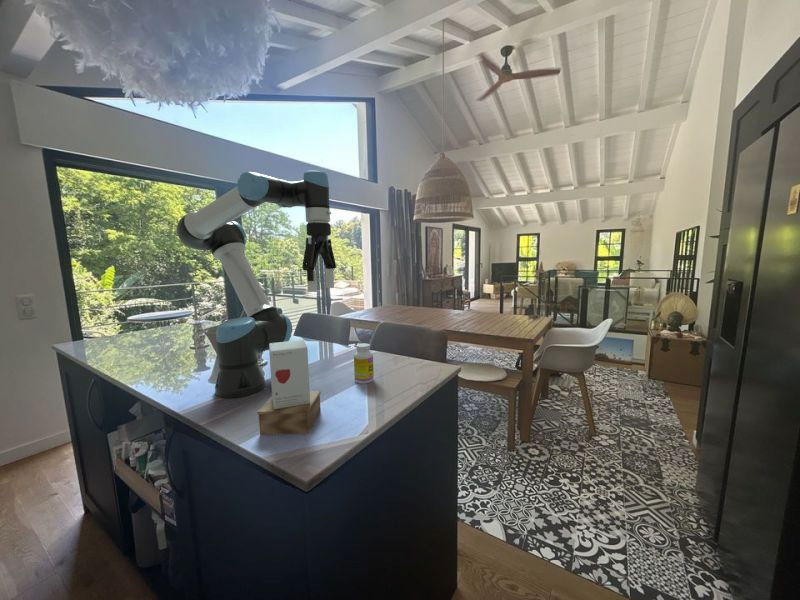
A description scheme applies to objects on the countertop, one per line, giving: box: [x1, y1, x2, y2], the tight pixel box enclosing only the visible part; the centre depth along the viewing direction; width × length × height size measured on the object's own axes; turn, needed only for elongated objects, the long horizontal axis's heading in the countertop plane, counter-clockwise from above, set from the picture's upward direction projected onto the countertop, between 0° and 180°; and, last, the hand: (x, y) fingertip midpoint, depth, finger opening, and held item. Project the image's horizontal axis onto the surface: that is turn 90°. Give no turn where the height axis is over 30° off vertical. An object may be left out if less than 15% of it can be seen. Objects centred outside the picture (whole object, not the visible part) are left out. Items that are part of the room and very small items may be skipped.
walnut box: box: [256, 390, 322, 435], centre depth 89 cm, size 12×12×6 cm
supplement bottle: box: [353, 342, 374, 385], centre depth 118 cm, size 7×7×13 cm
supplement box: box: [268, 339, 311, 409], centre depth 88 cm, size 9×9×15 cm
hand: (321, 289), depth 110 cm, fingers open, 13 cm apart
